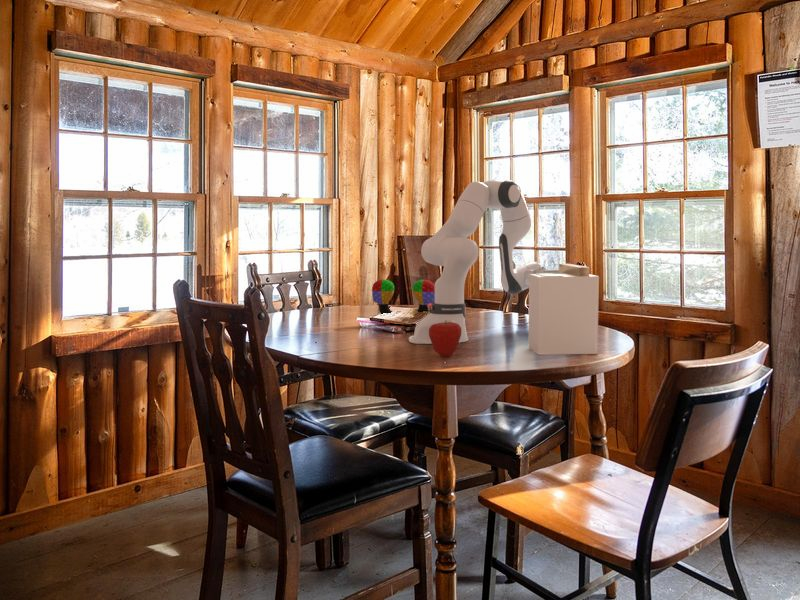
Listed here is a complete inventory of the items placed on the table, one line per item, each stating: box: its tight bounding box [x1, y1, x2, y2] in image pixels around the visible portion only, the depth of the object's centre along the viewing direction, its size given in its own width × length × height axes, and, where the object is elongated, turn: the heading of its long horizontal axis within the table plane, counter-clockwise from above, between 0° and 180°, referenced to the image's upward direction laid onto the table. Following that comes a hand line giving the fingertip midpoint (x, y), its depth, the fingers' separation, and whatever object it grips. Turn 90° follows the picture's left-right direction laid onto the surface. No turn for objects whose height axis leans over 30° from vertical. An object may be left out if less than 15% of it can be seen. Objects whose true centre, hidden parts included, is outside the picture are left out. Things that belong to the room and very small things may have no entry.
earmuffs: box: [371, 278, 435, 315], centre depth 302 cm, size 28×9×20 cm, turn 78°
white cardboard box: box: [528, 273, 600, 356], centre depth 235 cm, size 20×14×26 cm
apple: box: [429, 321, 461, 358], centre depth 228 cm, size 11×11×12 cm
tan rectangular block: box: [558, 263, 591, 277], centre depth 238 cm, size 4×24×3 cm, turn 2°
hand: (554, 268), depth 263 cm, fingers open, 8 cm apart
